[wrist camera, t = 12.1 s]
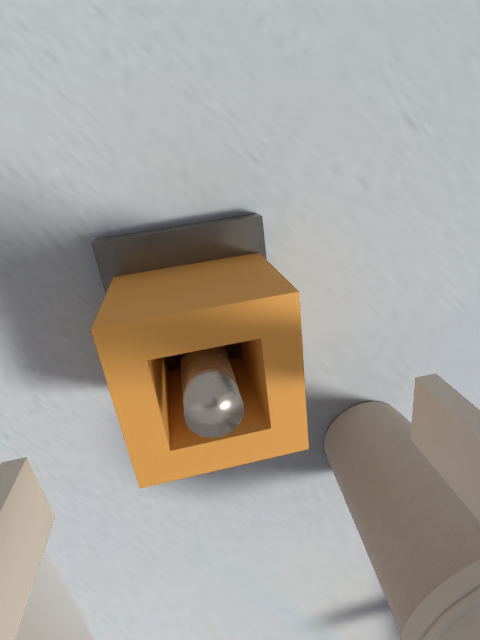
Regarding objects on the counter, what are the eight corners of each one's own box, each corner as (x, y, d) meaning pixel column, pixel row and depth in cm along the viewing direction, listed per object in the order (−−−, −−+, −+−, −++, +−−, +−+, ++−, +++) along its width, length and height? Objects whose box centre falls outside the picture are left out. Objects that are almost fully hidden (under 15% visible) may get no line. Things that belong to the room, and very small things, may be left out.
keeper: (95, 239, 21) (48, 292, 12) (257, 213, 22) (315, 246, 13) (145, 417, 25) (136, 542, 17) (275, 389, 26) (327, 494, 18)
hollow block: (113, 276, 20) (90, 329, 14) (258, 252, 21) (298, 291, 15) (146, 400, 24) (139, 488, 17) (271, 374, 25) (309, 449, 18)
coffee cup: (322, 379, 27) (485, 602, 13) (437, 387, 29) (677, 586, 16) (291, 483, 30) (396, 748, 17) (396, 484, 32) (565, 717, 19)
